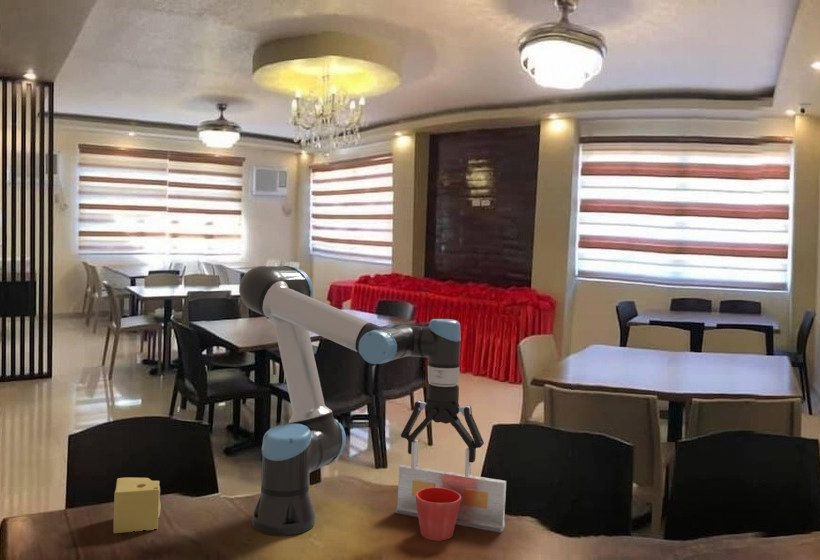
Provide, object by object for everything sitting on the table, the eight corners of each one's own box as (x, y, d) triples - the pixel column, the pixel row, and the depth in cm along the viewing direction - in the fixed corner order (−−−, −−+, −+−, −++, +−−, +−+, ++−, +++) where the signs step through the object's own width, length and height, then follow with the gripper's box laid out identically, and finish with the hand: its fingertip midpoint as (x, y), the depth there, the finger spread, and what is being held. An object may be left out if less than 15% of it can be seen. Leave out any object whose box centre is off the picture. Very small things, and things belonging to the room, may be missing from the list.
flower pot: (456, 546, 158) (458, 505, 157) (410, 540, 160) (411, 499, 160) (462, 528, 168) (463, 490, 168) (418, 523, 170) (420, 485, 170)
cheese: (160, 514, 170) (161, 474, 169) (159, 531, 159) (160, 489, 159) (115, 517, 166) (116, 477, 166) (110, 535, 156) (111, 492, 156)
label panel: (395, 513, 176) (397, 467, 176) (401, 507, 180) (403, 463, 180) (501, 532, 166) (503, 484, 166) (504, 527, 170) (507, 479, 170)
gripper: (389, 381, 164) (387, 468, 164) (490, 391, 155) (487, 483, 155) (401, 376, 171) (398, 460, 171) (497, 386, 162) (495, 474, 162)
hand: (440, 471), depth 163 cm, fingers open, 13 cm apart
